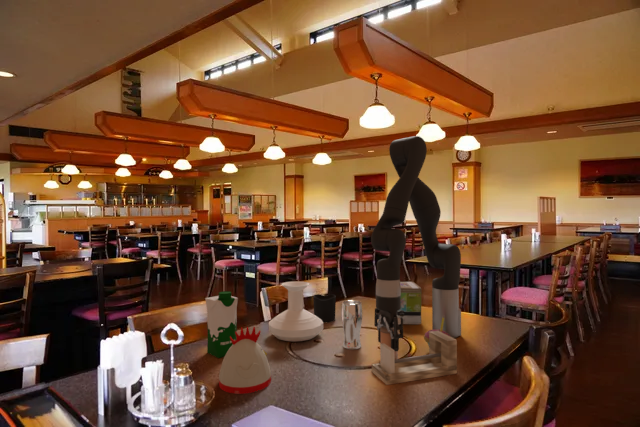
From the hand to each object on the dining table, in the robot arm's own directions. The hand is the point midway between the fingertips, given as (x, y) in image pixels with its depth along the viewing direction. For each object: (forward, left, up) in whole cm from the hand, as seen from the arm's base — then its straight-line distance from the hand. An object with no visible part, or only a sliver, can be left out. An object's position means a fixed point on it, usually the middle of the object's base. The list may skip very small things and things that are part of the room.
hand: (388, 346), depth 125 cm
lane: (-2, +11, -4) cm, 12 cm away
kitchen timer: (+44, +1, -5) cm, 44 cm away
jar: (0, 0, -4) cm, 4 cm away
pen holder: (+4, -49, -5) cm, 49 cm away
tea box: (-28, -38, -5) cm, 48 cm away
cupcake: (-18, -1, -4) cm, 19 cm away
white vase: (+21, -32, -5) cm, 38 cm away
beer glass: (+6, -15, -4) cm, 17 cm away
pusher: (-3, +11, -3) cm, 12 cm away
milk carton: (+48, -24, -4) cm, 54 cm away
